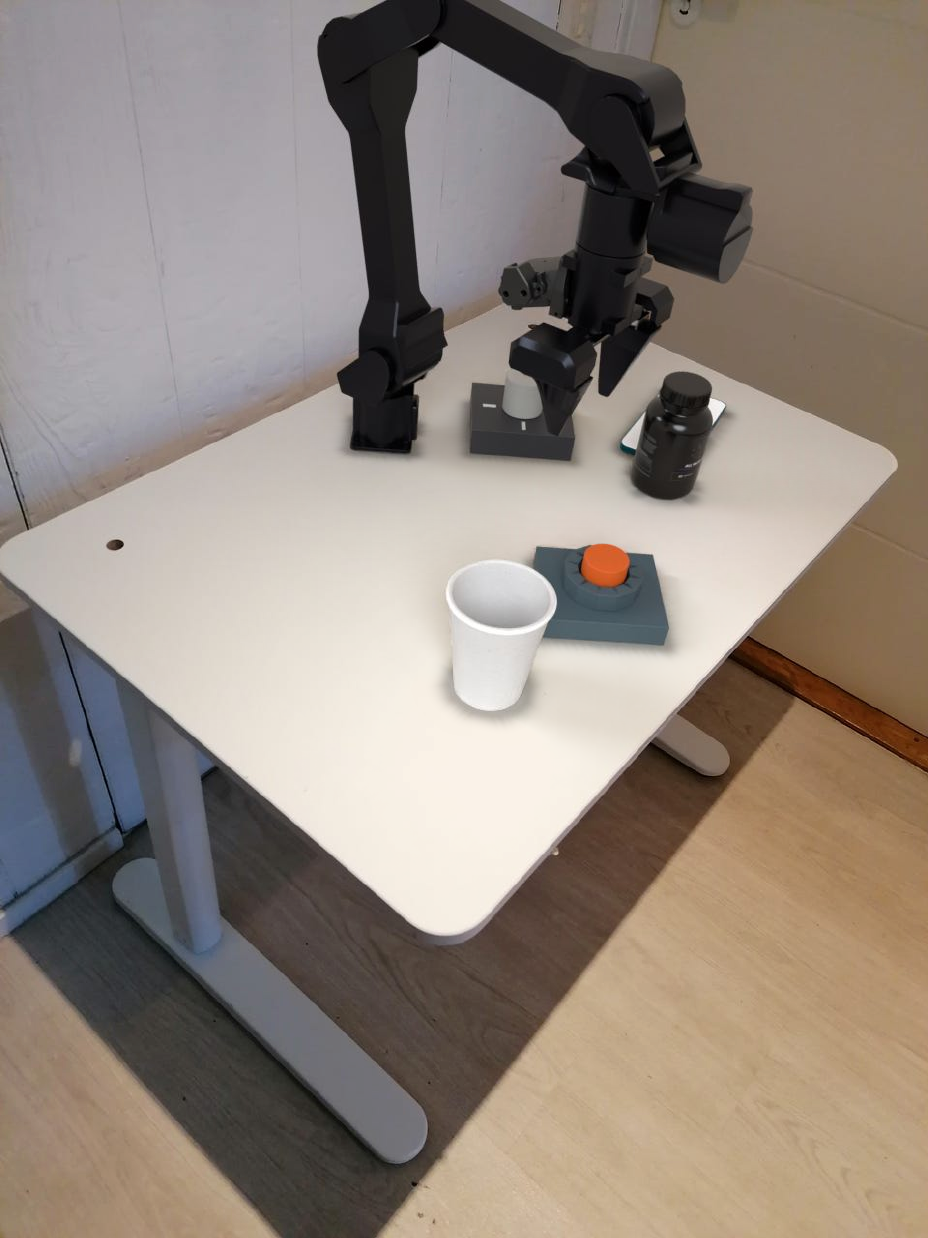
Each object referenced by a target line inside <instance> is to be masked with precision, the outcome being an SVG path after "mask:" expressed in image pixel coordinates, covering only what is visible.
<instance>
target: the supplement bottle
mask: <svg viewBox="0 0 928 1238" xmlns="http://www.w3.org/2000/svg"><path fill="white" fill-rule="evenodd" d="M659 392H660V393H659ZM659 392H658V394H659V396H658V397H656V396H655V397H656V398H655V397H654V398H653V399H652V400H651V401H650V402H649V403H648V405H647V406H646V409H645V410H646V412H645V415H644V419H643V424H642V428H641V432H640V436H639V440H638V444H637V448H636V453H635V456H634V457H633V462H632V466H631V470H630V478H631V481H632V483H633V485H634V486H635V488H636V489H637V490H638V491H640V492H641V493H642V494H644V495H646V496H649V497H651V498H654V499H656V500H657V499H658V500H662V501H664V500H665V501H674V500H679V499H682V498H685V497H686V496H688V495H689V494H690V493H691V492H692V490H694V487H695V485H696V482H697V478H698V475H699V472H700V468H701V465H702V461H703V458H704V456H705V452H706V449H707V446H708V442H709V439H710V435H711V433H712V432H711V429H712V425H713V416H712V413H711V411H710V409H709V408H708V405H709V402H710V397H712V393H713V385H712V384H711V381H709V379H708V378H706V377H704V376H702V375H700V374H698V373H695V372H690V371H684V370H683V371H681V370H678V371H673V372H670V373H668V374H666V375H665V377H664V378H663V381H662V384H661V387H660V390H659ZM710 432H711V433H710Z"/></svg>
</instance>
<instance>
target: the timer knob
mask: <svg viewBox="0 0 928 1238" xmlns="http://www.w3.org/2000/svg"><path fill="white" fill-rule="evenodd" d="M504 385H505V388H504V396H503V403H502V408H503V410H504V411H505V412H506V413H507V414H508V415H510V416H512V417H515V418H520V419H531V418H535V417H537V416H539V415H540V414H541V413H542V408H543V407H542V402H541V398H540V394H539V391H538V387H537V384H536V382H535V381H534V380H533V379H532V378H531V377H529V376H527V375H524V374H522V373H521V372H519V371H517V370H514V369H512V368H509V369H508V370H507V371H506V373H505V381H504Z"/></svg>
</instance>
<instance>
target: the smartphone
mask: <svg viewBox="0 0 928 1238" xmlns="http://www.w3.org/2000/svg"><path fill="white" fill-rule="evenodd" d="M659 393H660V391H659V392H658V394H657V395H656V396H655V397H654V399H655V398H656V397H658V396H659ZM708 408H709V409H710V411H711V413H712V416H713V425H712V429H711V432H710V434H711V433H712V432H713V430H714V429H715V427H716V426H717V424H718V423H719V422H720V419H721V418H722V417H723V416H724V414H725V413H726V409H727V404H726V402H724V401H723V400H720V399H717V398H714V397H712V396H710V402H709V405H708ZM645 412H646V409H644V411H643V412H642V413H641V415H640V416H639V417H638V418H637V420H636V421H634V423H633V425H631V427H630V429H629V430H627V432H626V433H625V435H623V437H622V438H621V439H620V443H619V449H620V450H621V451H622V452H623V453H626V454H628V455H632V456H634V457H635V453H636V448H637V444H638V440H639V436H640V432H641V428H642V424H643V419H644V415H645Z"/></svg>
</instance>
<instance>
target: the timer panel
mask: <svg viewBox="0 0 928 1238" xmlns="http://www.w3.org/2000/svg"><path fill="white" fill-rule="evenodd" d="M504 388H505V384H498V383H497V384H496V383H495V384H494V383H483V382H471V388H470V396H469V454H474V455H485V456H486V455H487V456H499V457H501V456H502V457H512V458H524V459H525V458H526V459H541V460H550V461H551V460H553V461H566V462H571V461H572V457H573V452H574V448H575V447H574V446H575V442H576V433H575V428H574V420H573V415H572V416H571V418H570V420H569V421H568V423H567V425H566V426H565V428H564V429H563V431H562V433H561V434H560V435H559V436H554V435H552V434H550V433H548V431H547V426H546V421H545V417H544V412H543V408H542V413H541V414H540V415H539V416H537V417H535V418H531V419H520V418H515V417H512V416H510V415H508V414H507V413H506V412H505V411H504V410H503V408H502V403H503V396H504Z"/></svg>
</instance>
